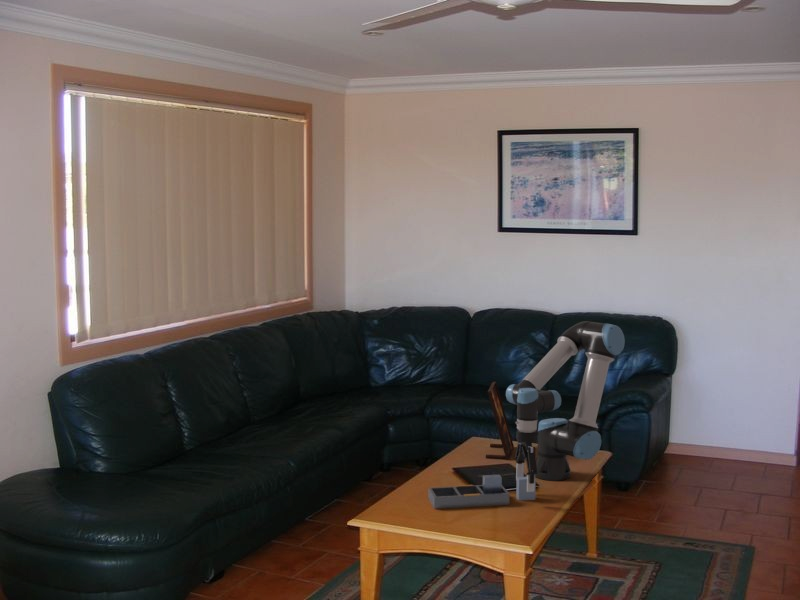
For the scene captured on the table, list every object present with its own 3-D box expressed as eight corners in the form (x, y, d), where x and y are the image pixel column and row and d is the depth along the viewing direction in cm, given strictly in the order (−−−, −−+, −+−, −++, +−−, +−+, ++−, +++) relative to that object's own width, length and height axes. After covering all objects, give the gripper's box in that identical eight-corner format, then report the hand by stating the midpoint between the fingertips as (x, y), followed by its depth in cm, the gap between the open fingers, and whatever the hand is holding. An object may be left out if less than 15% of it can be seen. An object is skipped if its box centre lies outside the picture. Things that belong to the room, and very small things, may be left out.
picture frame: (510, 460, 389) (511, 391, 386) (485, 459, 391) (486, 390, 388) (513, 447, 410) (514, 382, 406) (490, 446, 412) (491, 381, 408)
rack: (500, 494, 344) (501, 471, 343) (509, 504, 332) (509, 480, 331) (428, 498, 339) (428, 474, 338) (434, 508, 328) (434, 484, 327)
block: (532, 496, 341) (533, 476, 341) (535, 499, 338) (535, 478, 337) (516, 497, 340) (516, 477, 340) (518, 500, 337) (519, 479, 336)
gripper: (507, 422, 348) (506, 476, 350) (527, 438, 324) (525, 496, 326) (526, 422, 349) (524, 475, 351) (547, 438, 325) (545, 495, 327)
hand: (525, 486), depth 339 cm, fingers open, 13 cm apart
